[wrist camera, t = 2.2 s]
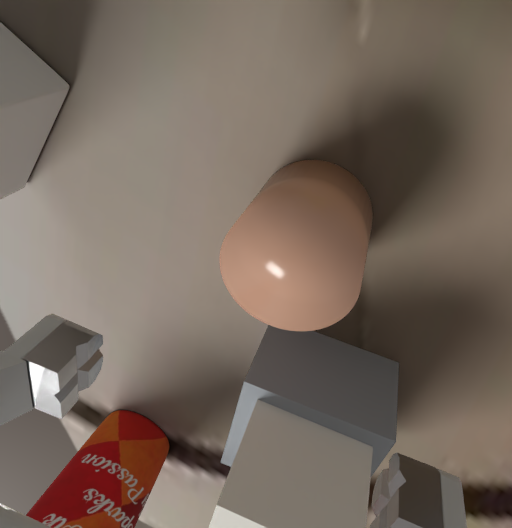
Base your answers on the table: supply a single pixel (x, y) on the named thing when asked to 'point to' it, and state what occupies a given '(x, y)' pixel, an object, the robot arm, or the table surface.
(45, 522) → the paper cup
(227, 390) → the table surface
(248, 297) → the peach rounded cylinder
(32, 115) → the milk carton
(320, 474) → the tower top block
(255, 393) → the tower base block
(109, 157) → the table surface
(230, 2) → the table surface
